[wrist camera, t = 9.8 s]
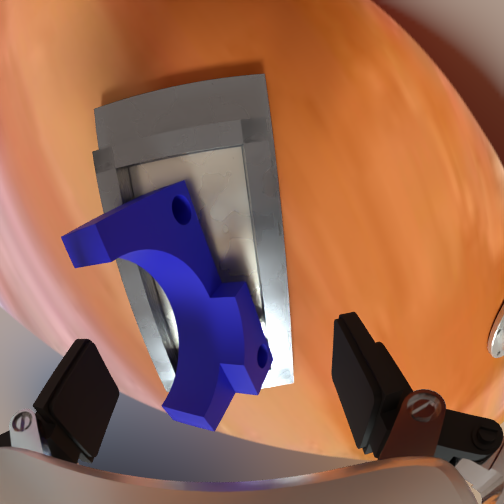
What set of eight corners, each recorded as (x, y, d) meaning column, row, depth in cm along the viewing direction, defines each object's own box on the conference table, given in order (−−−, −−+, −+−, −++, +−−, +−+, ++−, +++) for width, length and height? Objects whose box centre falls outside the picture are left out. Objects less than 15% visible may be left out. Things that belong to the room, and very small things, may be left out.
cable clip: (273, 359, 17) (239, 436, 12) (215, 355, 19) (173, 420, 14) (208, 172, 13) (119, 214, 8) (144, 193, 15) (60, 237, 10)
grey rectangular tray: (262, 78, 14) (269, 63, 11) (291, 374, 22) (298, 400, 19) (100, 110, 14) (78, 105, 11) (175, 387, 22) (171, 414, 19)
